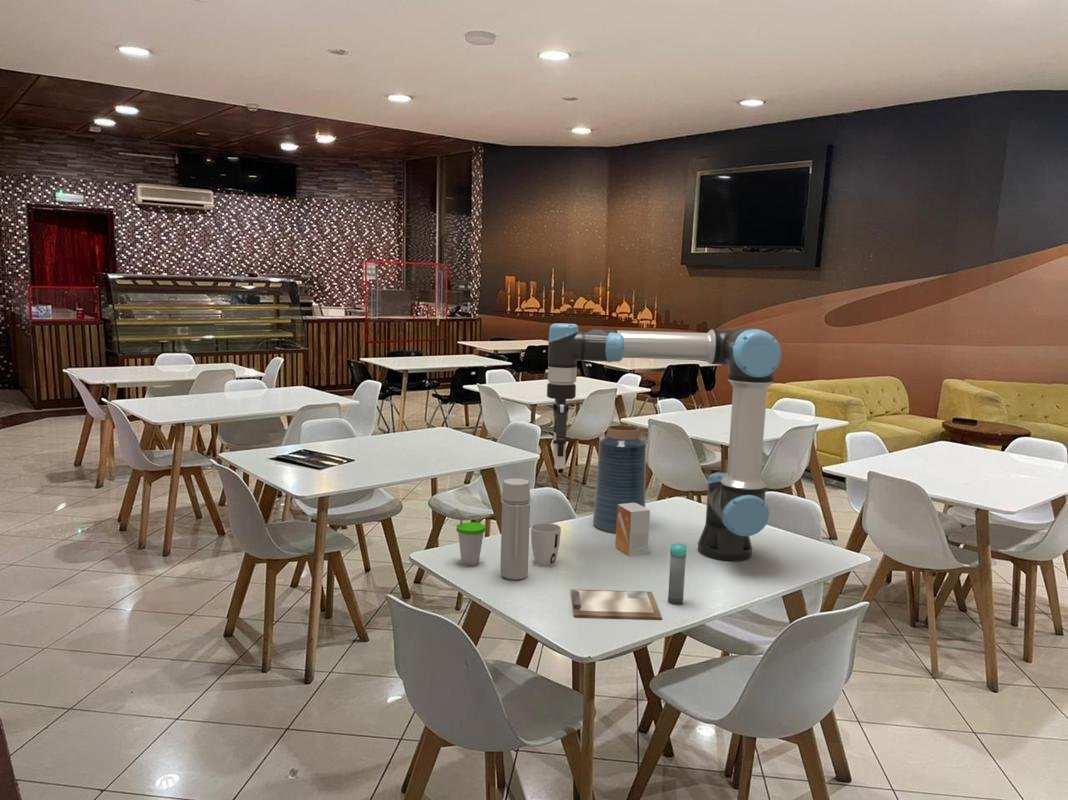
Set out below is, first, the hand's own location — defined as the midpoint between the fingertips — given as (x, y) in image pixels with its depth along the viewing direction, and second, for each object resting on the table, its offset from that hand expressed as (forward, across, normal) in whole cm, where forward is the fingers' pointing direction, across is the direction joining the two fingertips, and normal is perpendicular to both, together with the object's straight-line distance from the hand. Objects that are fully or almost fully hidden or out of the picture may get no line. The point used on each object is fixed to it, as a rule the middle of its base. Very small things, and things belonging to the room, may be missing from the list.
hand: (558, 462), depth 205 cm
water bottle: (+28, +11, -11) cm, 32 cm away
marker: (+28, +24, +28) cm, 46 cm away
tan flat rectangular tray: (+28, +27, +13) cm, 41 cm away
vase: (+28, -35, +21) cm, 50 cm away
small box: (+28, -12, +22) cm, 38 cm away
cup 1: (+28, +2, -23) cm, 36 cm away
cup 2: (+28, 0, -3) cm, 28 cm away
